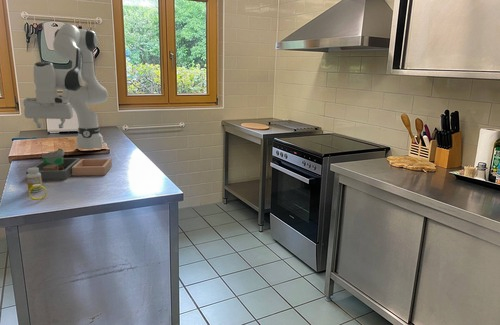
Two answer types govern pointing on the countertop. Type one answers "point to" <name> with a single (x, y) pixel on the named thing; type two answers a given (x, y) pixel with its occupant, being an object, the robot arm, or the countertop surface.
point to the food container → (54, 158)
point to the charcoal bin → (60, 173)
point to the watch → (36, 187)
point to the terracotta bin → (92, 167)
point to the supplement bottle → (34, 179)
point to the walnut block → (50, 168)
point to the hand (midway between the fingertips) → (50, 127)
